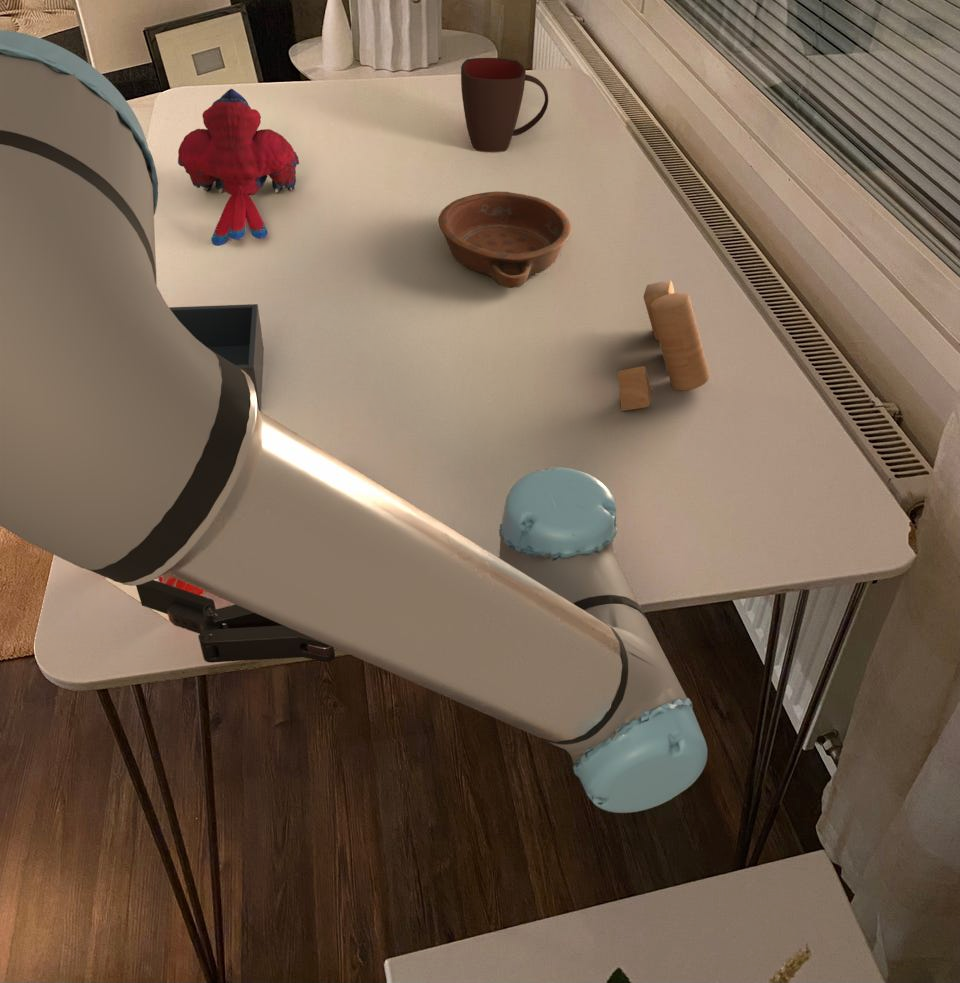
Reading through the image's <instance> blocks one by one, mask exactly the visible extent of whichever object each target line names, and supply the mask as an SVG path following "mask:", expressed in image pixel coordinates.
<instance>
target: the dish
mask: <svg viewBox="0 0 960 983" xmlns="http://www.w3.org/2000/svg"><path fill="white" fill-rule="evenodd" d="M437 219H438V220H437V223H438V228H439V229H440V231H441V233H442V234H443V236H444V239H445V241H446V242H445V243H446V244H447V248H448V249H449V251H450V253H451V255H452V257H453V258H454V259H455V260H456V261H457V262H458V263H460V264H461V265H463V266H464V267H466V268H468V269H470V270H473V271H475V272H477V273H480V274H484V275H488V276H491V277H492V279H493V280H494V281H495V283H497V284H498V285H500V286H502V287H504V288H509V289H513V288H514V289H515V288H519V287H521V286H523V285H524V284H526V282H527V280H528V277H529V276H531V275H535V274H538V273H541V272H543V271H545V270H546V269H548V268H549V267H550V266H551V265H552V264H553V263H554V262H555V261H556V260H557V259H558V256H559V255H560V252H561V251H562V248H563V246H564V244H565V243H566V242H567V241H568V239H569V238H570V236H571V232H572V224H571V221H570V219H569V217H568V216H567V215H566V213H564V211H563V210H562V209H561V208H559V207H558V206H557V205H554V204H553V203H551V202H549V201H547V200H546V199H543V198H540V197H537V196H533V195H529V194H523V193H516V192H511V191H487V192H479V193H474V194H471V195H467V196H463V197H460V198H457V199H455V200H453V201H452V202H450V203H449V204H447V205H446V206H445V207H444V208H443V209H442V210H441V212H440V214H439V216H438V218H437Z"/></svg>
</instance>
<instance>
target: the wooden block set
mask: <svg viewBox="0 0 960 983" xmlns="http://www.w3.org/2000/svg"><path fill="white" fill-rule="evenodd" d="M643 300H644V304H645V308H646V310H647V314H648V319H649V321H650V325H651V329H652V333H653V336H654V340H655V341H658V342H659V346H660V349H661V353H662V357H663V361H664V364H665V368H666V371H667V376H668V378H669V381H670V382H669V383H670V386H671V387H672V388H673V389H674V390H677V391H691V390H695V389H697V388H700V387H702V386H703V385H705V384H706V383H708V381H709V379H710V373H709V368H708V365H707V361H706V356H705V353H704V349H703V344H702V341H701V336H700V333H699V329H698V325H697V321H696V317H695V313H694V309H693V305H692V301H691V297H690V295H688V294H687V293H685V292H675V288H674V285H673V282H672V279H671V280H664V281H658V282H655V283H650V284H646V286H645V290H644V294H643ZM617 379H618V388H619V400H620V410H621V412H623V411H630V410H631V411H632V410H636V409H643V408H649V407H650V405H651V404H650V403H651V400H652V395H653V390H652V385H651V383H650V378H649V375H648V373H647V368H646V366H644V365H643V366H637V367H631V368H626V369H620V370H617Z"/></svg>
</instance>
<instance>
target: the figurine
mask: <svg viewBox="0 0 960 983" xmlns="http://www.w3.org/2000/svg"><path fill="white" fill-rule="evenodd" d="M202 120H203V121H202V122H203V124H204V125H203V126H204V127H205V128H196V129H194V130H192V131H190V132H189V133H188V134H186V135H185V136H184V137H183V139H182V141H181V143H180V144H179V147H178V150H177V152H178V156H177V157H178V158H177V164H178V165H179V166H180V167H182V168H184V170H185V173H186V174H188V176H189V178H190V180H191V184H192V185H193V186H194V187H196V188H197V189H201V187H202V188H203V191H205V192H211V190H212V189H213V186H214V188H215V189H216V190H217V191H218V193H220V194H222V193H224V192H226V194H228V195H229V198H228V199H227V202H226V203H225V206H224V208H223V210H222V212H221V215H220V217H219V220H218V221H217V224H216V226H215V229H214V231H213V233H212V236H211V242H212V244H213V245H214V246H217V247H218V246H223V245H224V244H226V243H227V241H228V239H229V238H230V239H231V240H234V241H238V240H241V239H243V238H244V237H245V234H246V227H247V226H248V229H249V232H250V234H251V236H252V237H253V238H255V239H259V240H262V239H265V238H266V237H267V236H268V230H267V227H266V224H265V222H264V220H263V218H262V217H261V215H260V212H259V210H258V208H257V206H256V204H255V203H254V200H253V199H252V198H251V196H255V195H257V194H258V193H259V191H260V190H261V189H262V188H263V187H264V184H265V182H266V180H267V179H268V177H269V178H270V179H271V187H272V190H273V192H274V193H276V194H278V193H280V192H281V191H282V190H283V188H284V187H285V189H287V191H289V192H293V191H294V189H295V186H296V182H297V179H296V178H297V176H296V174H297V170H296V168H297V165H299V164H300V160H299V156H298V155H297V152H296V151H295V149H294V148H293V146H292V144H291V143H290V142H289V141H288V140H287V139H286V138H285V137H284V136H283V135H282V134H280V133H279V132H276V131H274V130H272V129H270V128H267V129H266V128H264V129H259V127H260V126H261V120H262V117H261V113H260V112H259V111H258V110H257V109H255V108H251V106H250V105H249V103H248V101H247V99H245V97H244V96H243V95H241V94H240V93H239V92H237V91H236V90H234V89H233V88H229V89H228V90H227V91H226V92H225V93H223V94H222V95H221V96H220V98H218V99H216V100H215V101H213V103H212V104H211V106H209V107H208V108H207V109H205V110H204V111H203V112H202ZM246 223H247V224H246ZM246 225H247V226H246Z"/></svg>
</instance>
